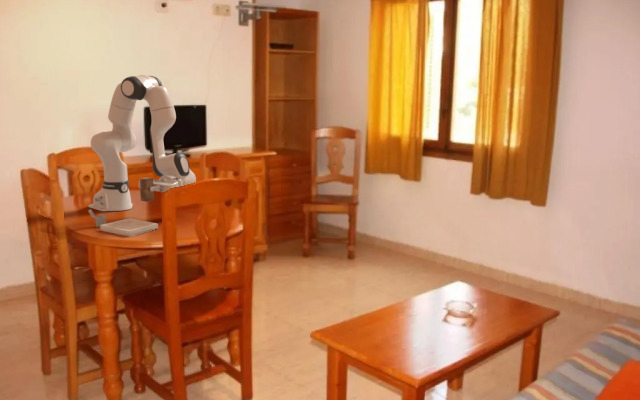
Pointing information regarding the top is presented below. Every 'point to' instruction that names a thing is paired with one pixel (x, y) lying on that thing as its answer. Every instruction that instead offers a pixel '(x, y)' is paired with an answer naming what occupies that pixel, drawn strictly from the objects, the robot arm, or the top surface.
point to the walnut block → (146, 189)
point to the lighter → (98, 218)
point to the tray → (129, 227)
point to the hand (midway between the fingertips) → (145, 188)
